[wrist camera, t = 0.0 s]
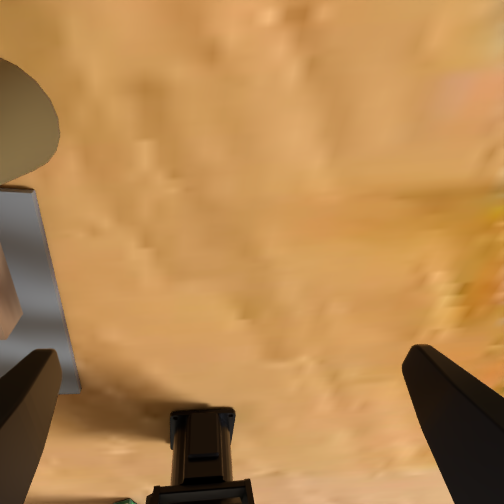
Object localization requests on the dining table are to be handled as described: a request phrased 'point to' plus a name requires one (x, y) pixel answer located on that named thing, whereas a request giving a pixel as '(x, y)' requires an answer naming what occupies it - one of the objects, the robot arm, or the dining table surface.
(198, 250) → the dining table surface
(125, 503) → the coffee box
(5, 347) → the build base
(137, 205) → the dining table surface
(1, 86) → the olive pawn piece
